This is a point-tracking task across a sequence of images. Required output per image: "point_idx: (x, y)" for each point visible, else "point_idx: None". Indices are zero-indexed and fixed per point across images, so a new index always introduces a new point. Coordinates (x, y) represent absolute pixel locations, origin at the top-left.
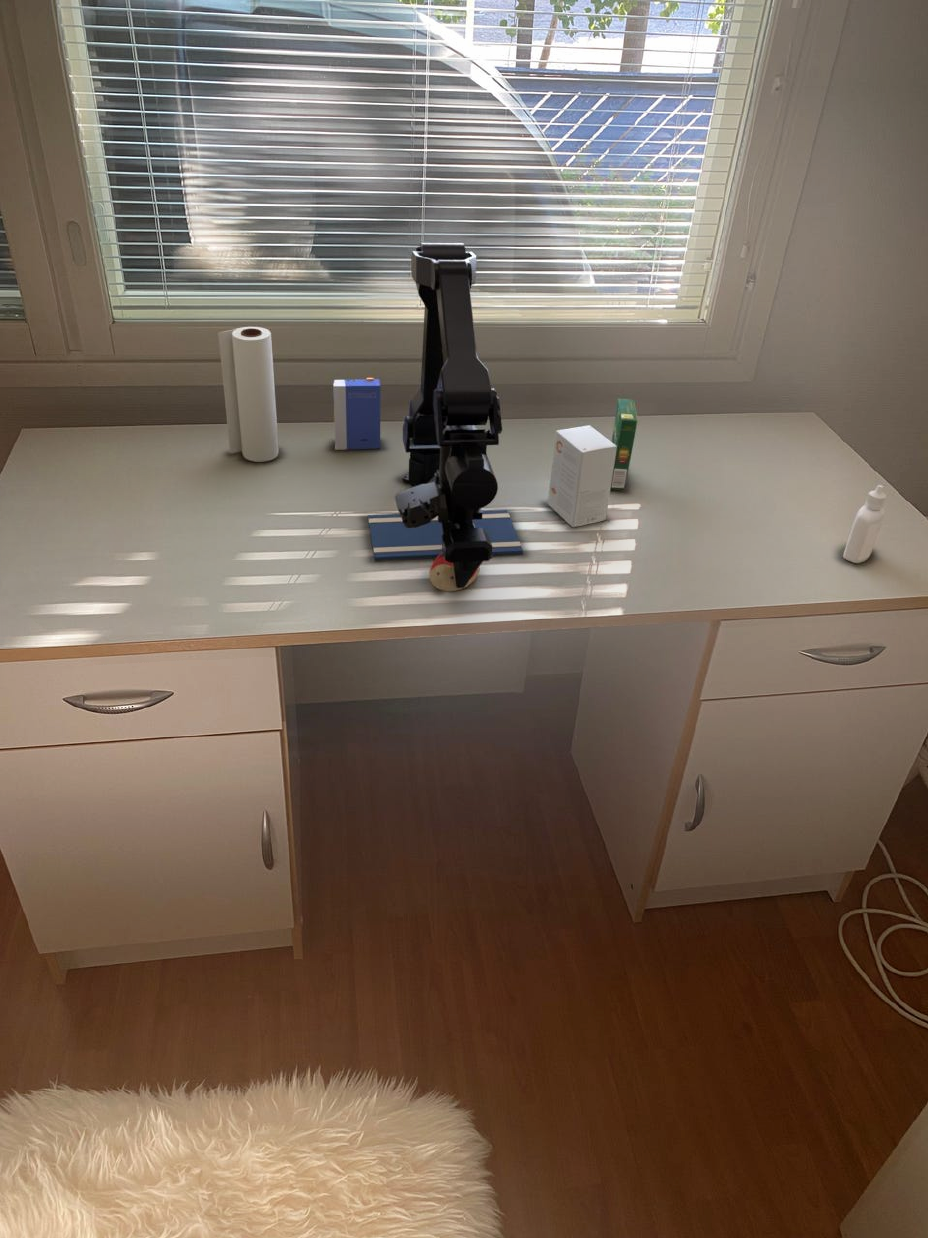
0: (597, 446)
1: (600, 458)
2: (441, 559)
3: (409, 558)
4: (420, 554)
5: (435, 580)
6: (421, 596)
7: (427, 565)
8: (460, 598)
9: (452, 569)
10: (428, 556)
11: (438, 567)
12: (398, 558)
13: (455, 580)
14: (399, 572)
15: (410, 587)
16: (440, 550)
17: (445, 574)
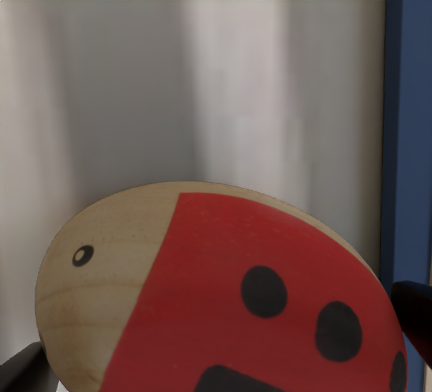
0: None
1: None
2: (207, 297)
3: (387, 73)
4: (404, 135)
5: (77, 223)
6: (17, 128)
7: (321, 169)
8: (25, 330)
9: (72, 378)
10: (389, 177)
11: (125, 266)
12: (390, 5)
13: (9, 369)
14: (262, 6)
15: (108, 65)
16: (427, 239)
17: (51, 312)
